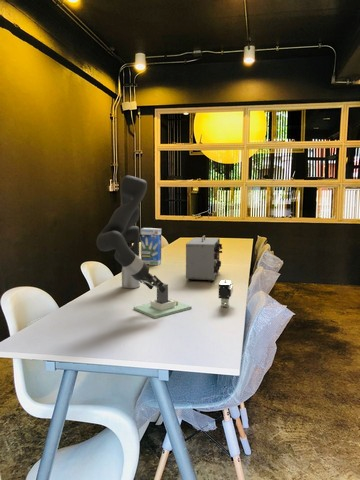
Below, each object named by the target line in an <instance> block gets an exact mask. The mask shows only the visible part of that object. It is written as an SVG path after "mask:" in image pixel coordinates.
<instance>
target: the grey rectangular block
mask: <svg viewBox="0 0 360 480" xmlns="http://www.w3.org/2000/svg"><path fill="white" fill-rule="evenodd" d="M162 283H163V285H162V286H163V287H164V288H165V289H166V290H165V292H164V293H161V292H160V291H159V290H158V289H157V288H156V299H157V303H160V304H163V303H167V302H168V299H169V284H166V283H164V282H162Z"/></svg>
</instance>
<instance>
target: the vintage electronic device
mask: <svg viewBox="0 0 360 480" xmlns="http://www.w3.org/2000/svg"><path fill="white" fill-rule="evenodd" d="M220 242H221V240H220V238H218V237H206V235H203V236H202V237H193V238H192V239H190V240H189V241H188V242H187V243H185V280H187V281H188V282H193V280H204V281H205V280H206V281H208V282H209V283H212V282H213V281H215V279H216V277H217V275H218V272H219V271H220V267H221V266H222V261H221V260H220V254H222V253H223V246H222V245H223V243H220Z"/></svg>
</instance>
